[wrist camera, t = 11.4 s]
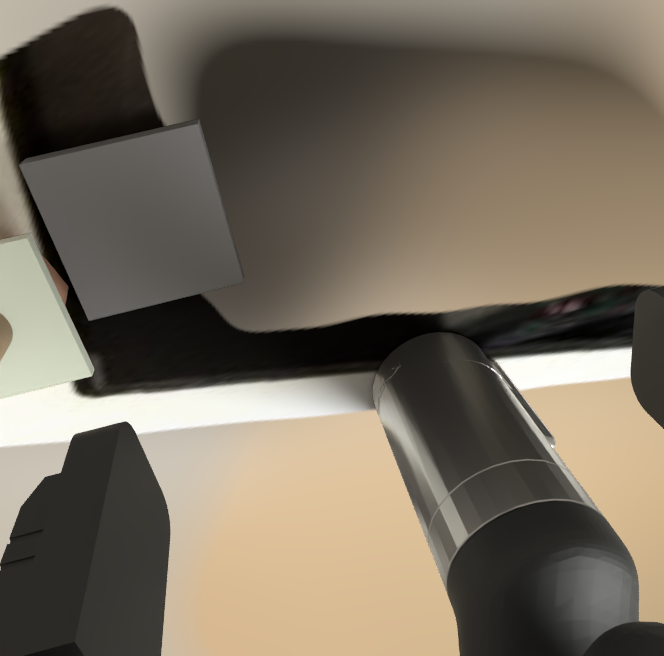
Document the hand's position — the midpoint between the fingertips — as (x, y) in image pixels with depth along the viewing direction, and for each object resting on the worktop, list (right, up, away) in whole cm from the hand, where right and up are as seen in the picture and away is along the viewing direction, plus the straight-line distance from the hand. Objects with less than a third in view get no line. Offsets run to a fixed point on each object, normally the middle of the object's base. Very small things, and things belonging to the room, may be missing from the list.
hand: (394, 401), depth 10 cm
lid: (-21, +1, +26) cm, 33 cm away
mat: (-13, +8, +28) cm, 32 cm away
